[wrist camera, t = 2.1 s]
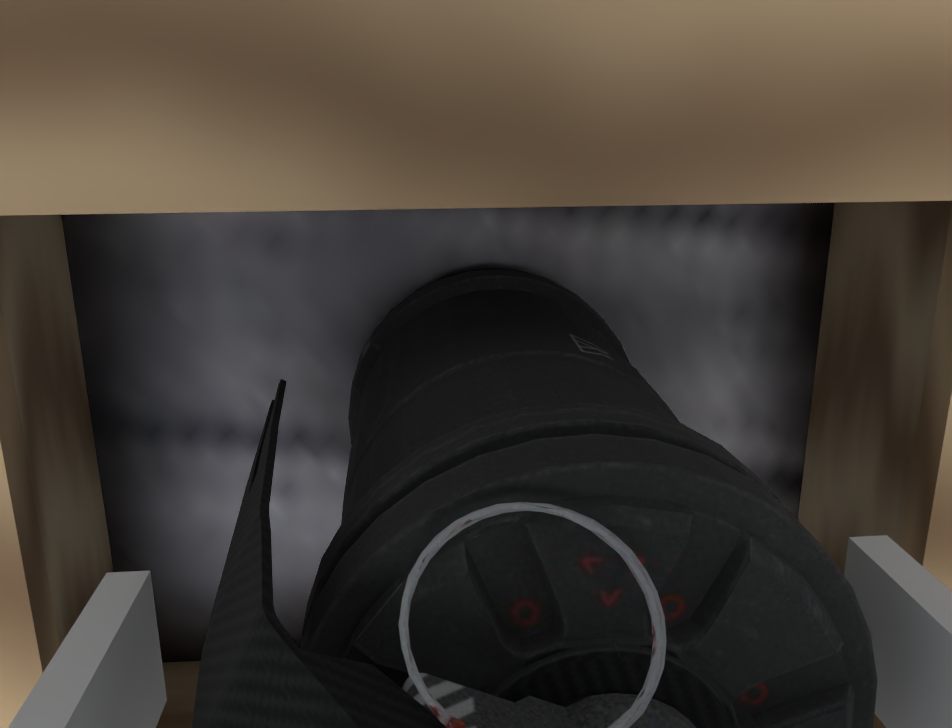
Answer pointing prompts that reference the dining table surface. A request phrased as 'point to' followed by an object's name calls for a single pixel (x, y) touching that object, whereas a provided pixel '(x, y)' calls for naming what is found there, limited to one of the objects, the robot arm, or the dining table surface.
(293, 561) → the dining table surface
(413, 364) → the black shaker bottle
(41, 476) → the crate
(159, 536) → the dining table surface
